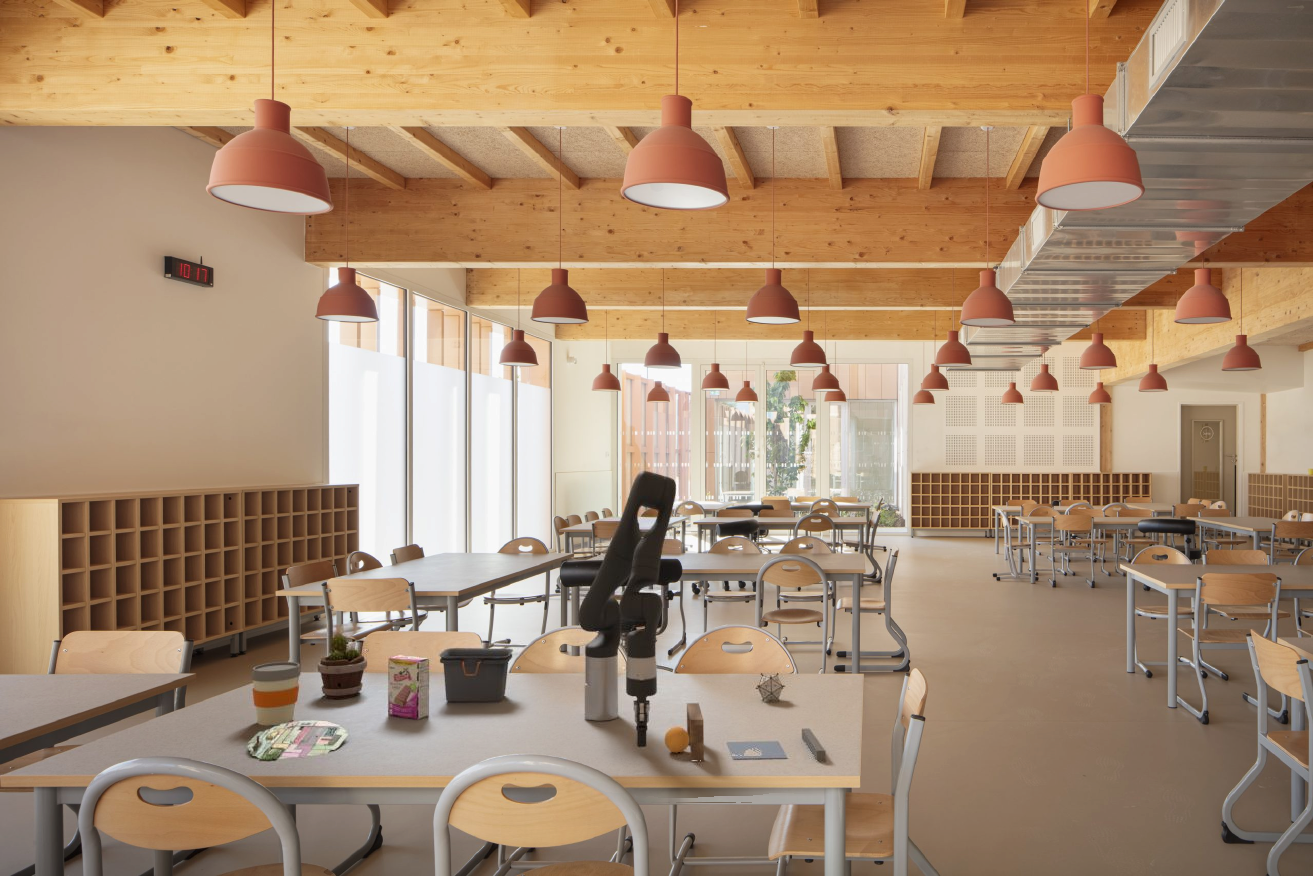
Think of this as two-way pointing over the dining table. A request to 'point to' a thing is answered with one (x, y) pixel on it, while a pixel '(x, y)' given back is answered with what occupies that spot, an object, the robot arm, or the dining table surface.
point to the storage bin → (475, 674)
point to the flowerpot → (341, 670)
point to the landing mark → (767, 747)
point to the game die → (770, 687)
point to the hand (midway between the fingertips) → (641, 746)
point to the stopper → (813, 744)
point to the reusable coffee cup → (275, 691)
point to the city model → (297, 740)
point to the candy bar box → (408, 687)
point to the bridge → (695, 731)
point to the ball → (677, 739)
